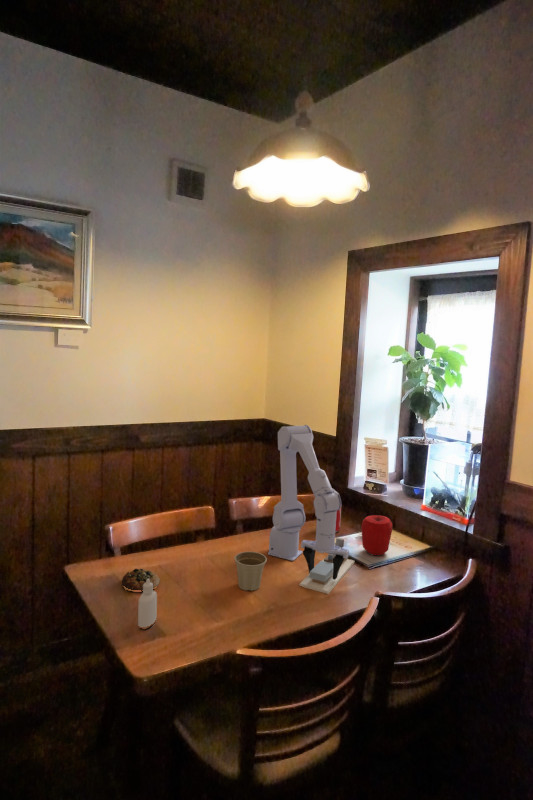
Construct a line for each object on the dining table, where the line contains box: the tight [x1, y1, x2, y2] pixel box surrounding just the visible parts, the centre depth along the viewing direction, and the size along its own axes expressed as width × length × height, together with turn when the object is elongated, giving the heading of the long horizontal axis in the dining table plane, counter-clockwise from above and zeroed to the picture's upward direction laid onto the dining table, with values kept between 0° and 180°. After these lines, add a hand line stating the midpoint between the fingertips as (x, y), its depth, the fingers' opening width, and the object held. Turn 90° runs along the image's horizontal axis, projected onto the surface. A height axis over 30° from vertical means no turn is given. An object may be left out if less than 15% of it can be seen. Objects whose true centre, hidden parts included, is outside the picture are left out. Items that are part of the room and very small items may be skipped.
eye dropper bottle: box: [137, 579, 158, 627], centre depth 132 cm, size 4×6×12 cm
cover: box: [309, 560, 333, 582], centre depth 160 cm, size 5×9×2 cm, turn 153°
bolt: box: [327, 537, 345, 560], centre depth 169 cm, size 2×9×4 cm, turn 153°
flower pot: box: [233, 551, 268, 592], centre depth 154 cm, size 9×9×9 cm
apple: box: [361, 514, 393, 556], centre depth 181 cm, size 11×10×14 cm
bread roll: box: [121, 568, 161, 591], centre depth 153 cm, size 11×11×5 cm
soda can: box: [335, 503, 342, 534], centre depth 200 cm, size 6×6×12 cm
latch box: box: [299, 548, 355, 595], centre depth 164 cm, size 9×24×4 cm, turn 153°
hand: (323, 575), depth 160 cm, fingers open, 7 cm apart
